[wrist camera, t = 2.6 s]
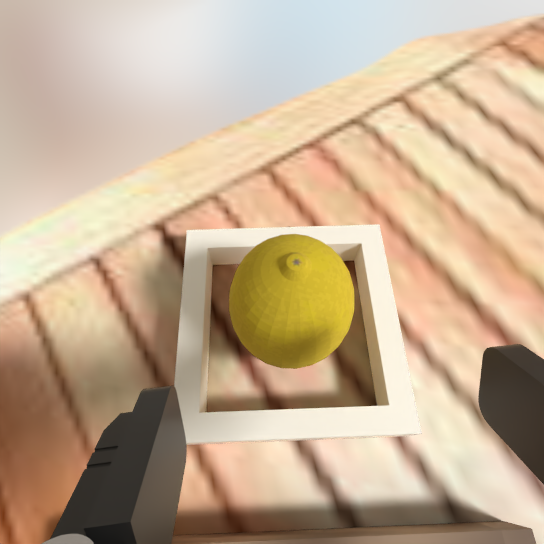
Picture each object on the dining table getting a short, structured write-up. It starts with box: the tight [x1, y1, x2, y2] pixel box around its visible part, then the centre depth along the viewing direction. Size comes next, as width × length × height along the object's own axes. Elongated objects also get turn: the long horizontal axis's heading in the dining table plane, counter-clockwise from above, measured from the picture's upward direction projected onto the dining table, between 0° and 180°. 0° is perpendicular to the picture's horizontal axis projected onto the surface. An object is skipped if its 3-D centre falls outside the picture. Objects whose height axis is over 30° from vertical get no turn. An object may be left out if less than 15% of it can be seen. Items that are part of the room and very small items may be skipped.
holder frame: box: [174, 225, 422, 445], centre depth 19 cm, size 11×11×2 cm
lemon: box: [229, 234, 354, 369], centre depth 16 cm, size 6×6×8 cm
